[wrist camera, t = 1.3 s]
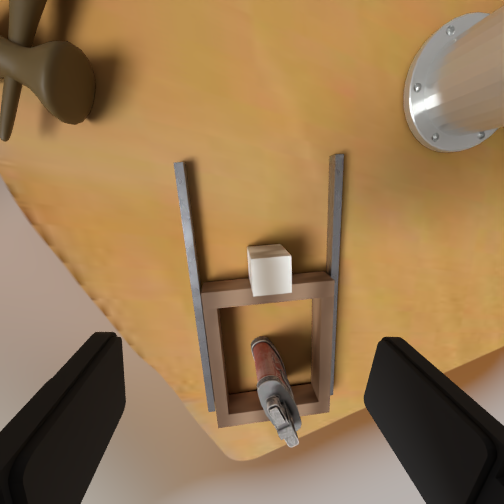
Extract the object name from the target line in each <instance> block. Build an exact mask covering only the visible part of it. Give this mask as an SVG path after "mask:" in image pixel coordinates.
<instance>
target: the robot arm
mask: <svg viewBox="0 0 504 504" xmlns="http://www.w3.org/2000/svg"><path fill="white" fill-rule="evenodd" d="M404 111H405V117H406V120H407V123H408V126H409V128H410V130H411V132H412V133H413V135H414V136H415V138H416V139H417V140H418V141H419V142H420V143H421V144H422V145H424V146H426V147H427V148H429V149H431V150H434V151H437V152H446V153H449V152H457V151H462V150H466V149H470V148H472V147H474V146H476V145H478V144H480V143H482V142H483V141H484V140H486V139H487V138H489V137H490V136H491V135H492V134H493V133H494V132H495V131H496V130H497V129H498V128H500V127H504V5H503V6H502V7H500V8H499V9H497V10H496V11H494V12H493V13H491V14H489V13H481V12H475V13H467V14H464V15H462V16H459V17H456V18H454V19H453V20H451V21H450V22H448V23H446V24H445V25H443V26H442V27H441V28H440V29H438V30H437V31H436V32H435V33H433V34H432V35H431V36H430V37H429V38H428V39H427V40H426V42H425V43H424V44H423V45H422V46H421V48H420V50H419V51H418V53H417V54H416V56H415V57H414V60H413V62H412V64H411V66H410V68H409V71H408V75H407V78H406V81H405V88H404ZM125 403H126V398H125V382H124V367H123V352H122V339H121V337H117V335H116V333H114V332H95V333H94V334H93V335H92V336H91V337H90V338H89V339H88V340H87V341H86V342H85V343H84V344H83V345H82V346H81V347H80V349H79V350H78V351H77V352H76V353H75V354H74V355H73V356H72V357H71V358H70V359H69V360H68V362H67V363H66V364H65V365H64V366H63V367H62V368H61V369H60V370H59V371H58V372H57V374H56V375H55V376H54V377H53V378H51V379H50V380H49V381H48V382H46V383H45V385H44V386H43V387H42V388H41V389H40V390H39V391H38V392H37V393H36V394H35V395H34V396H33V398H31V400H30V401H29V402H28V403H27V404H26V405H25V406H24V407H23V408H22V409H21V410H20V411H19V412H18V413H17V414H16V416H15V417H14V418H13V419H12V420H11V421H10V422H9V423H8V424H7V425H6V426H5V427H4V428H3V430H2V431H1V432H0V504H81V502H82V499H83V497H84V495H85V493H86V491H87V489H88V486H89V484H90V482H91V480H92V478H93V476H94V474H95V472H96V469H97V467H98V465H99V463H100V461H101V459H102V457H103V454H104V452H105V450H106V448H107V446H108V444H109V442H110V439H111V437H112V435H113V433H114V431H115V429H116V427H117V424H118V422H119V420H120V418H121V416H122V414H123V411H124V408H125ZM364 403H365V406H366V408H367V410H368V411H369V413H370V415H371V416H372V417H373V419H374V421H375V422H376V424H377V426H378V427H379V429H380V430H381V432H382V434H383V435H384V437H385V438H386V440H387V441H388V443H389V445H390V446H391V448H392V449H393V451H394V453H395V454H396V456H397V458H398V459H399V461H400V462H401V464H402V466H403V467H404V469H405V470H406V472H407V473H408V475H409V477H410V478H411V480H412V481H413V483H414V485H415V486H416V488H417V489H418V491H419V493H420V494H421V496H422V497H423V499H424V501H425V502H426V504H504V426H503V425H502V424H501V423H500V422H499V421H497V420H496V419H495V418H494V417H493V416H491V415H490V414H489V413H488V412H487V411H486V410H485V409H483V408H482V407H481V406H480V405H479V404H478V403H477V402H475V401H474V400H473V399H472V398H471V397H470V396H468V395H467V394H466V393H465V392H464V391H463V390H461V389H460V388H459V387H458V386H457V385H456V384H454V383H453V382H452V381H451V380H450V379H449V378H448V377H446V376H445V375H444V374H443V373H442V372H441V371H440V370H438V369H437V368H436V367H435V366H434V365H433V364H431V363H430V362H429V361H428V360H427V359H426V358H424V357H423V356H422V355H421V354H420V353H419V352H418V351H416V350H415V349H414V348H413V347H412V346H411V345H409V344H408V343H407V342H406V341H405V340H404V339H402V338H400V337H383V338H382V340H381V341H379V342H378V345H377V349H376V353H375V356H374V360H373V364H372V368H371V371H370V375H369V379H368V383H367V387H366V390H365V394H364Z"/></svg>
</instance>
